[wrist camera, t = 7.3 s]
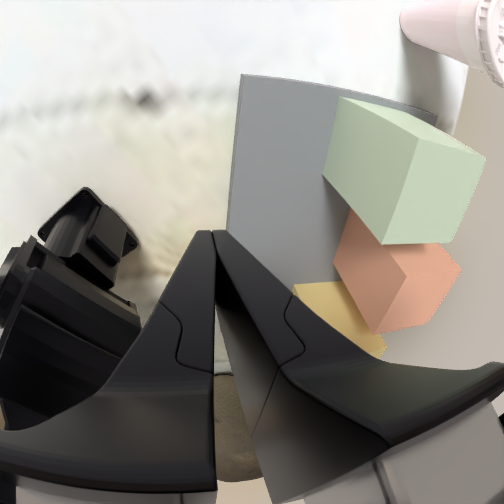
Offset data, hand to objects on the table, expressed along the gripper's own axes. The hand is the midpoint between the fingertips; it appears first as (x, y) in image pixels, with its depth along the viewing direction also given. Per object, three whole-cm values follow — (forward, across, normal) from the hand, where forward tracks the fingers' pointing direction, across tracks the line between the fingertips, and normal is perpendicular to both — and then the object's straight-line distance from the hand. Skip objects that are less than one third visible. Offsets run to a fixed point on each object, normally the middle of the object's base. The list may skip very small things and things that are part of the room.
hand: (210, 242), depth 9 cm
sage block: (+12, -12, 0) cm, 17 cm away
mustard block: (+12, -12, +17) cm, 24 cm away
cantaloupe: (+13, -4, +34) cm, 36 cm away
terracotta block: (+12, -16, +8) cm, 21 cm away
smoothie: (+13, -16, -11) cm, 23 cm away
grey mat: (+13, -11, +8) cm, 19 cm away
